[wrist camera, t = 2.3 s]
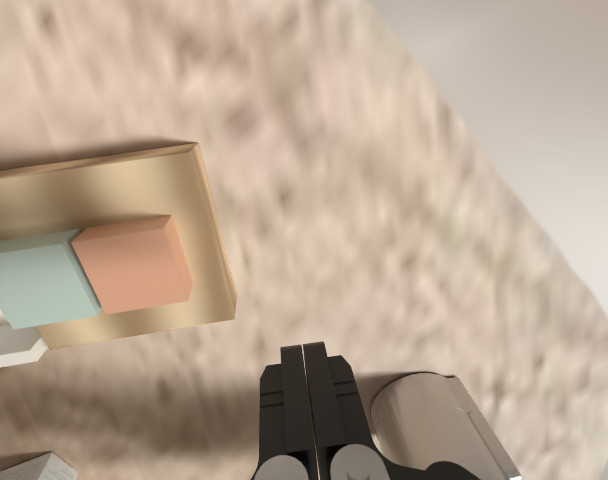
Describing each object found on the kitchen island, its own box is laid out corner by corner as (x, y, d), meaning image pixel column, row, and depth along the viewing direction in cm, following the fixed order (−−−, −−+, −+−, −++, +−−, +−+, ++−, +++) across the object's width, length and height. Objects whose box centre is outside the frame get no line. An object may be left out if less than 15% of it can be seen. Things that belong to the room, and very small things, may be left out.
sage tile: (79, 228, 20) (61, 243, 18) (110, 296, 22) (97, 316, 21) (-8, 241, 20) (-34, 258, 18) (33, 309, 22) (13, 329, 20)
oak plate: (198, 142, 22) (189, 152, 19) (236, 294, 27) (234, 319, 24) (-12, 172, 21) (-51, 186, 18) (71, 321, 26) (49, 349, 24)
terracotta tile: (171, 215, 20) (163, 228, 19) (193, 283, 23) (187, 301, 21) (87, 227, 20) (70, 242, 18) (118, 295, 22) (105, 314, 21)
